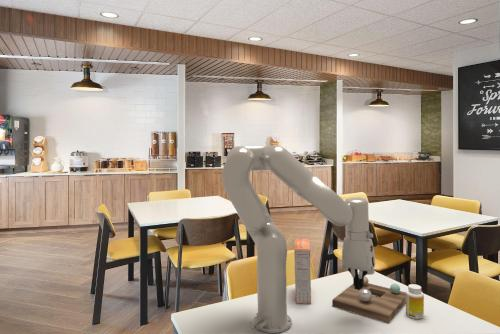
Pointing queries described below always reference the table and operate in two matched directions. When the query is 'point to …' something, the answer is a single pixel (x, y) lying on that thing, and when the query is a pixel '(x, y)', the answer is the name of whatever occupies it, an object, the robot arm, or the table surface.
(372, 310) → the wooden board
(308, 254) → the cracker box
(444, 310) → the table surface
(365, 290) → the steel ball
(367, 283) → the beech ball
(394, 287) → the teal ball
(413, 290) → the supplement bottle
